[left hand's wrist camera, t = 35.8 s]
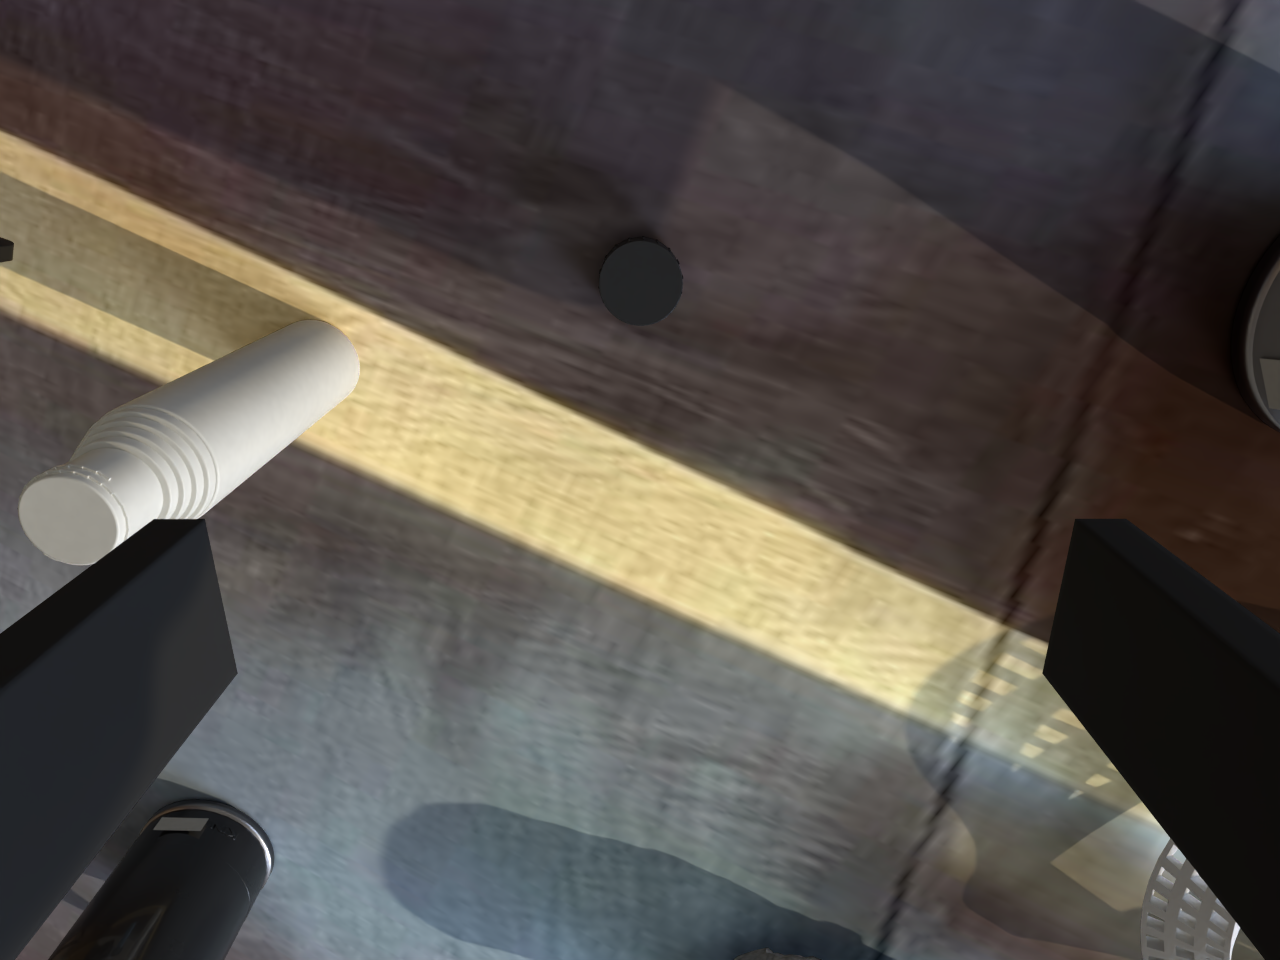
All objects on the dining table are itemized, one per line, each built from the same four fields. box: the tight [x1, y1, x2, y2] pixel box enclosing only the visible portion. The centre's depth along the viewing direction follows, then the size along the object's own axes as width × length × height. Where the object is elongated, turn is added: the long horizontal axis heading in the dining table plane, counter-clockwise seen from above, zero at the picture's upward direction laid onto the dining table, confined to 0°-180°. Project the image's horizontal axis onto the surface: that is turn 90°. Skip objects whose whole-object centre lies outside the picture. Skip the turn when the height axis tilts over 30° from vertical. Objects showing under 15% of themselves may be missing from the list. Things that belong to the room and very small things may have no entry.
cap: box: [599, 236, 683, 326], centre depth 44 cm, size 4×4×2 cm
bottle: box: [17, 320, 360, 565], centre depth 37 cm, size 5×5×22 cm
